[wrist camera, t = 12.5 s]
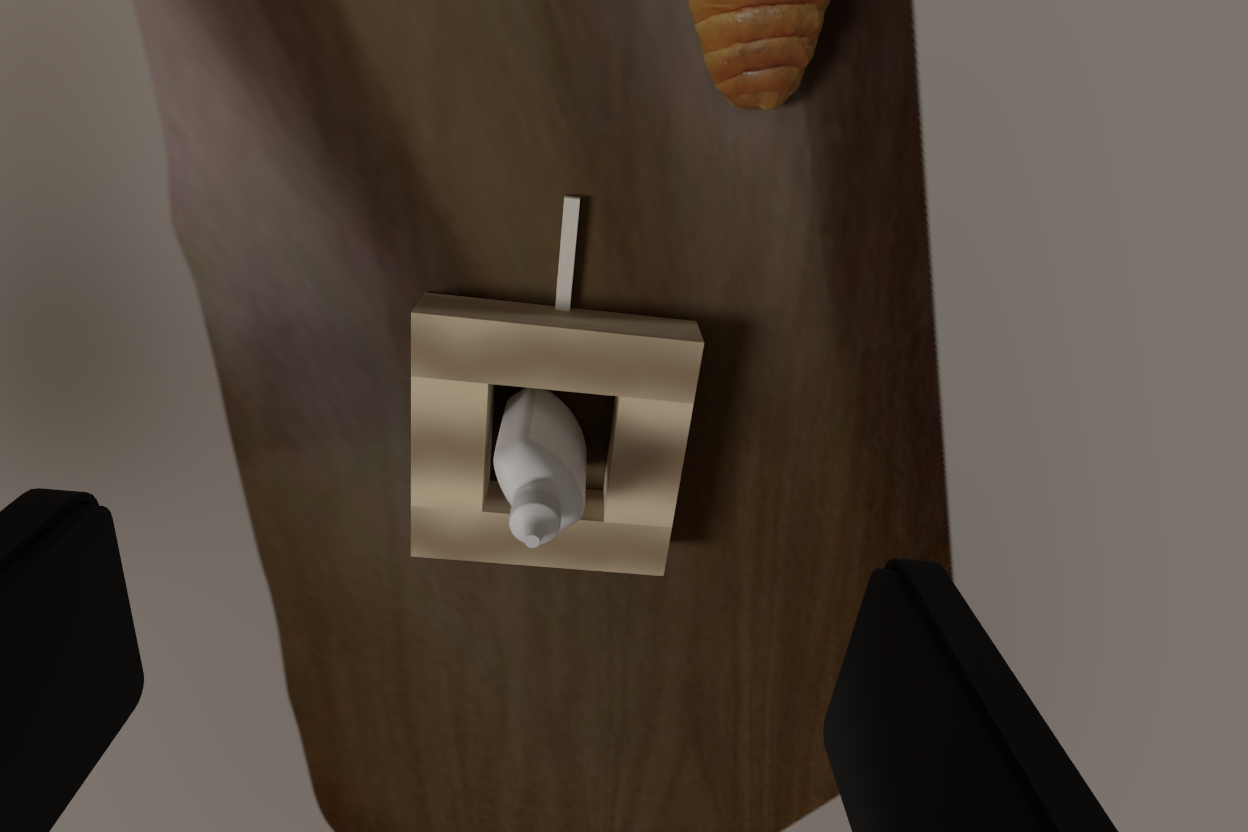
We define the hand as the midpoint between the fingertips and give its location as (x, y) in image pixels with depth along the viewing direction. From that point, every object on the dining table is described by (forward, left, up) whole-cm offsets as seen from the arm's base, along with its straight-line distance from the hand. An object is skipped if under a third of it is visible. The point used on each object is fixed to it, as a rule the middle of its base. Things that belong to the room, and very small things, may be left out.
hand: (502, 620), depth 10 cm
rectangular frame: (+14, 0, -33) cm, 36 cm away
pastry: (-10, +8, -34) cm, 36 cm away
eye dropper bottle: (+14, 0, -34) cm, 36 cm away
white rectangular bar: (+4, 0, -33) cm, 33 cm away
